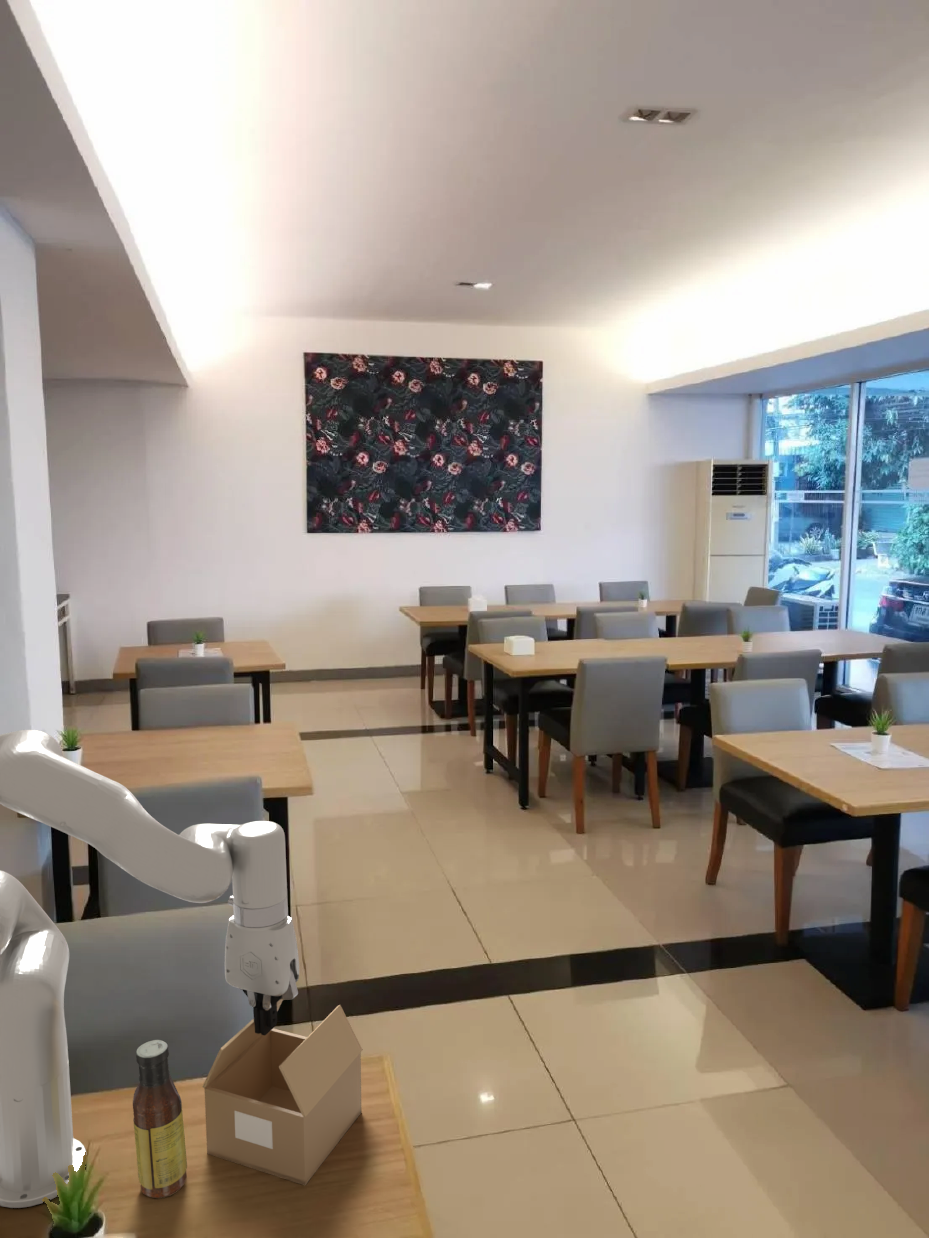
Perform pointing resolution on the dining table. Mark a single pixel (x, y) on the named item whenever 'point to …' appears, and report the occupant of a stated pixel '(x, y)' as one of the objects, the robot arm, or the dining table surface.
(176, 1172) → the sauce bottle
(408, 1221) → the dining table surface
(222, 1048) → the flap
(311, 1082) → the flap
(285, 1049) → the carton
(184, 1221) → the dining table surface
